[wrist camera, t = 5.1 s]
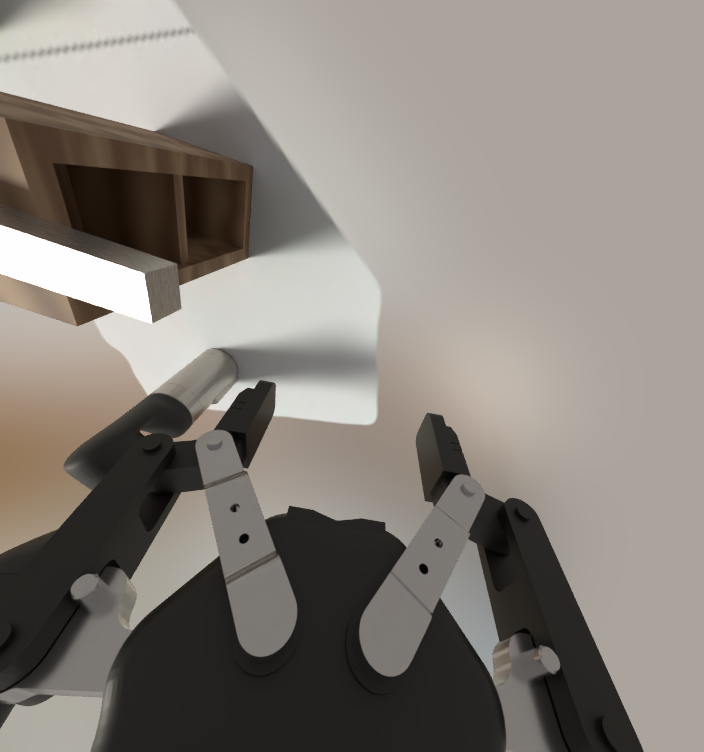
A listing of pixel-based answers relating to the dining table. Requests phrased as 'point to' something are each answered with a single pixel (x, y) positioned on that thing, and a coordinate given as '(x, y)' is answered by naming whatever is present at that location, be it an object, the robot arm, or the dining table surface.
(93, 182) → the walnut shelf
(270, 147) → the dining table surface
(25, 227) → the metal bar
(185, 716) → the robot arm
